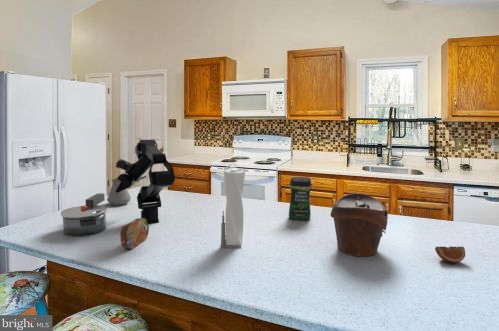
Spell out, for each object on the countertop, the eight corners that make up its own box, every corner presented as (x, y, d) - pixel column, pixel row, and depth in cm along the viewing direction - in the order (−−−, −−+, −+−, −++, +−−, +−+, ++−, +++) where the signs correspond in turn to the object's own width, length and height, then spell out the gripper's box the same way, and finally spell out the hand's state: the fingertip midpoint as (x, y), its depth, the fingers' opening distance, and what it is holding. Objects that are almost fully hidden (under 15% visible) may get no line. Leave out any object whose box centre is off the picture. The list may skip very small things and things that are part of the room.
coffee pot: (102, 206, 172) (101, 176, 170) (114, 201, 184) (113, 173, 182) (143, 207, 170) (142, 177, 168) (152, 202, 181) (151, 174, 179)
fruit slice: (439, 265, 104) (441, 249, 104) (429, 256, 111) (430, 241, 110) (468, 266, 104) (469, 250, 103) (456, 257, 110) (458, 242, 110)
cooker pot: (111, 234, 130) (110, 216, 129) (66, 242, 122) (65, 222, 121) (99, 218, 152) (98, 202, 151) (60, 223, 144) (59, 207, 143)
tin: (127, 252, 113) (126, 227, 112) (119, 252, 114) (117, 227, 112) (149, 237, 128) (149, 215, 126) (142, 236, 128) (141, 214, 127)
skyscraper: (223, 239, 126) (222, 163, 122) (245, 239, 126) (245, 163, 122) (220, 247, 118) (220, 166, 114) (244, 248, 117) (244, 166, 114)
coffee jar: (288, 220, 150) (289, 178, 148) (289, 215, 158) (289, 175, 155) (310, 221, 149) (312, 178, 146) (310, 216, 156) (311, 175, 154)
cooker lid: (97, 218, 127) (96, 207, 126) (52, 218, 126) (51, 208, 126) (119, 202, 151) (119, 193, 151) (82, 202, 151) (82, 193, 150)
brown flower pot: (356, 265, 103) (360, 207, 101) (318, 244, 122) (320, 194, 120) (400, 257, 111) (404, 202, 108) (358, 238, 129) (360, 190, 127)
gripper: (132, 151, 155) (108, 175, 155) (121, 154, 137) (94, 182, 137) (151, 168, 157) (127, 192, 157) (142, 173, 138) (115, 201, 139)
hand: (116, 191), depth 147 cm, fingers closed
